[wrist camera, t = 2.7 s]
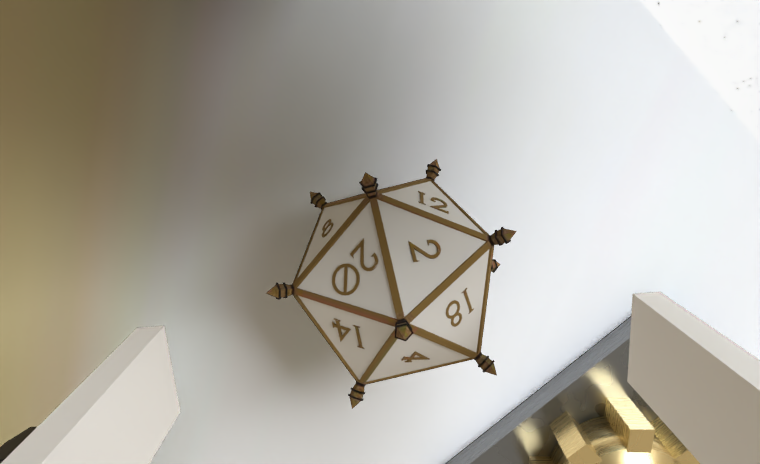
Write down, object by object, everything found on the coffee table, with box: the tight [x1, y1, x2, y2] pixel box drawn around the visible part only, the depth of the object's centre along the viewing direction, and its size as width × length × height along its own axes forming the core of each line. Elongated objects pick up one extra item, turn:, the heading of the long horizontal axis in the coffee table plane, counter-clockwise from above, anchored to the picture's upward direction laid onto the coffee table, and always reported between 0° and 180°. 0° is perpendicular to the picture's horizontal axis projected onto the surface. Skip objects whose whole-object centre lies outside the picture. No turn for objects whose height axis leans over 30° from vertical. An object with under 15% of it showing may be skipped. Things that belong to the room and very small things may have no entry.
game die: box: [267, 159, 516, 409], centre depth 20 cm, size 9×8×10 cm
